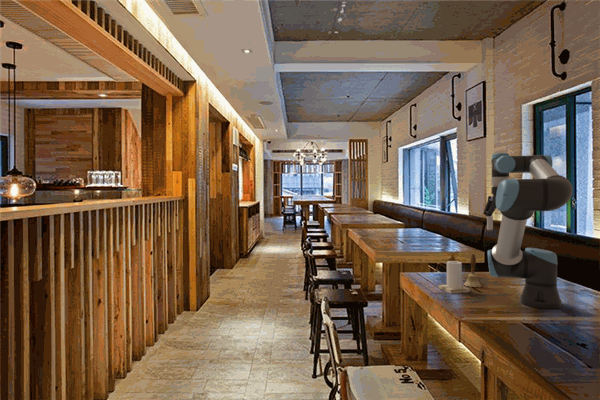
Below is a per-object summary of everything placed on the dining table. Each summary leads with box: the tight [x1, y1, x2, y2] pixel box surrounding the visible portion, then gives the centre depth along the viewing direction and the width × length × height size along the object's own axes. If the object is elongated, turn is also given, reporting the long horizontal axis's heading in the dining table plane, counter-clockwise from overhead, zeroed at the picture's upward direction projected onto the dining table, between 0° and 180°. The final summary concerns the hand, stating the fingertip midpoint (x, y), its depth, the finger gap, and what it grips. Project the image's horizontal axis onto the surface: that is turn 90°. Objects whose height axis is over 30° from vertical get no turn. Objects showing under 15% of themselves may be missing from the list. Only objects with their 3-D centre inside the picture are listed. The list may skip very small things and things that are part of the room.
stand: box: [438, 284, 471, 294], centre depth 197 cm, size 10×10×10 cm
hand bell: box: [463, 253, 482, 288], centre depth 206 cm, size 8×8×16 cm
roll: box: [446, 260, 463, 289], centre depth 197 cm, size 7×7×12 cm
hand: (499, 231), depth 193 cm, fingers open, 13 cm apart
